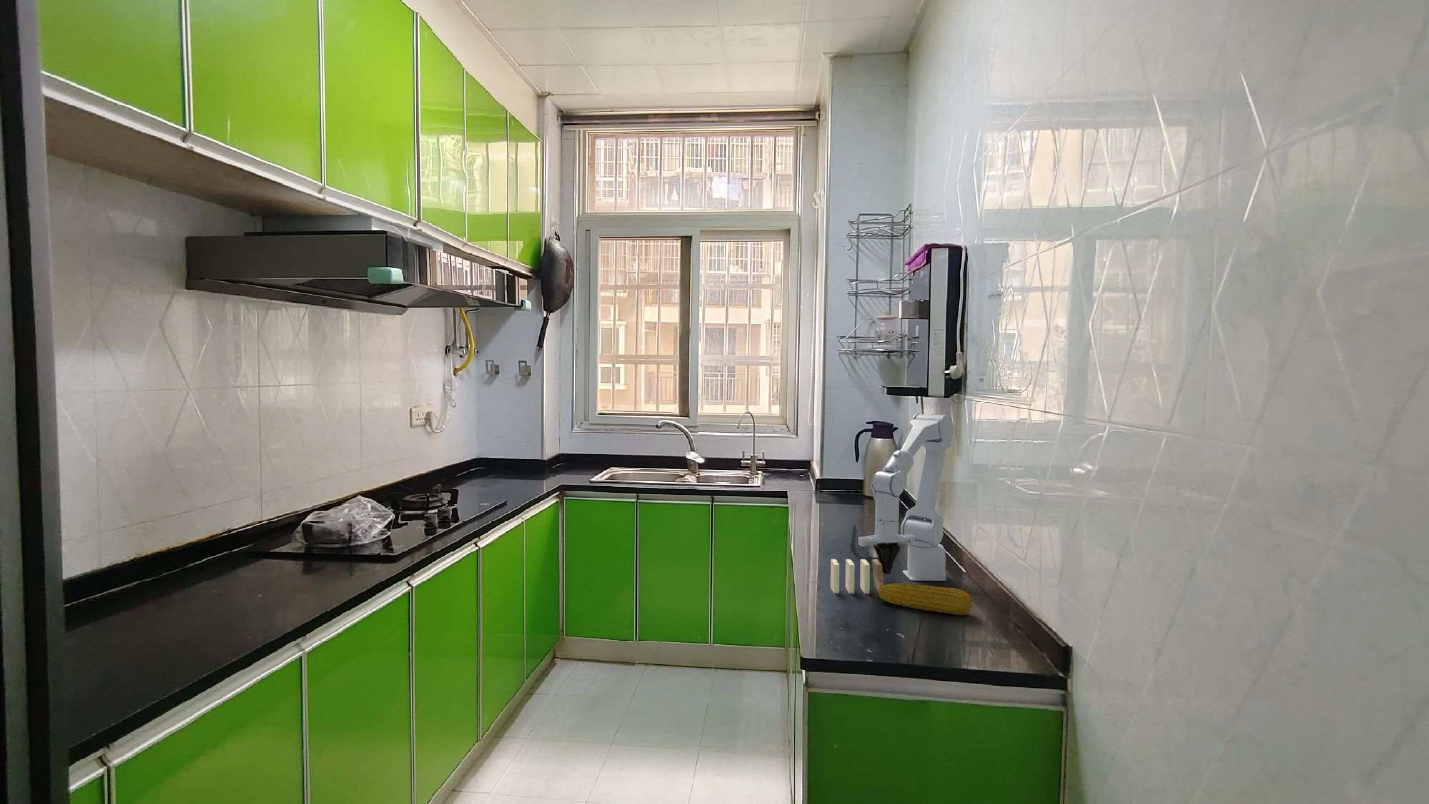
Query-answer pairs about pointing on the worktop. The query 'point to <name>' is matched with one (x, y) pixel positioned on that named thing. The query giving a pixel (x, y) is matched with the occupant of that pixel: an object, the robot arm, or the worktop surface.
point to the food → (927, 598)
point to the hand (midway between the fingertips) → (886, 572)
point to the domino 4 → (877, 574)
